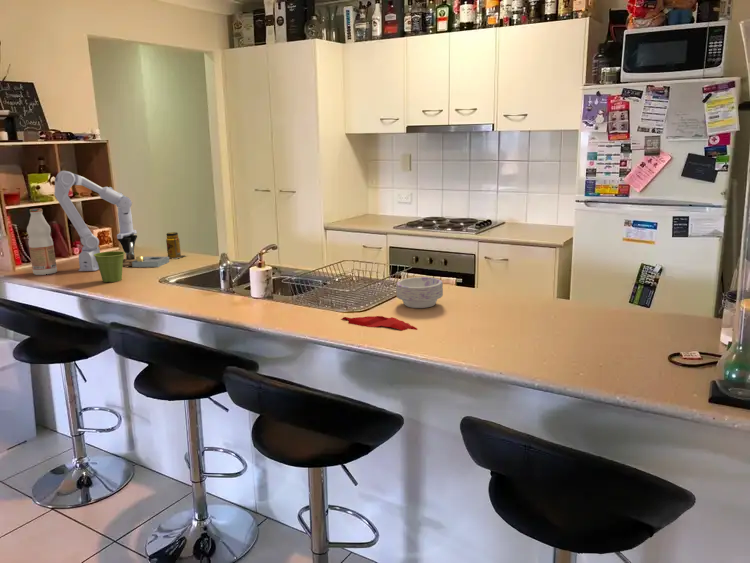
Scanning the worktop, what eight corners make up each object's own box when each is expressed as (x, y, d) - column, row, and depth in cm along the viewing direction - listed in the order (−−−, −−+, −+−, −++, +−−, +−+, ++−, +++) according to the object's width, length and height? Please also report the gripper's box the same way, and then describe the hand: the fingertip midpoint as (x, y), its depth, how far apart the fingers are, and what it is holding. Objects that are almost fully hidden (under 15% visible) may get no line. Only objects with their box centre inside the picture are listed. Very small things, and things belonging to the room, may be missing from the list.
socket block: (158, 267, 281) (157, 261, 281) (132, 267, 282) (132, 261, 282) (169, 261, 293) (168, 256, 292) (144, 261, 294) (144, 256, 294)
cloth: (429, 327, 185) (429, 320, 185) (401, 339, 175) (401, 331, 174) (363, 313, 202) (363, 306, 201) (333, 323, 191) (333, 316, 191)
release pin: (141, 266, 283) (141, 257, 282) (136, 266, 283) (135, 257, 282) (144, 264, 286) (143, 256, 285) (138, 264, 286) (138, 256, 285)
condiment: (164, 258, 302) (161, 233, 299) (175, 255, 310) (172, 231, 307) (176, 259, 300) (174, 234, 297) (187, 255, 307) (185, 231, 305)
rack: (131, 266, 284) (131, 261, 283) (116, 266, 284) (116, 262, 284) (143, 261, 295) (143, 256, 295) (129, 261, 296) (129, 257, 295)
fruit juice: (35, 276, 268) (25, 210, 262) (31, 273, 275) (21, 209, 269) (59, 273, 274) (50, 208, 267) (54, 269, 281) (45, 207, 275)
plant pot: (114, 284, 248) (110, 256, 246) (90, 283, 252) (86, 255, 250) (134, 278, 259) (131, 251, 257) (111, 277, 263) (107, 250, 261)
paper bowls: (387, 305, 208) (386, 282, 206) (417, 296, 218) (417, 274, 216) (421, 313, 197) (421, 289, 195) (452, 304, 207) (452, 280, 206)
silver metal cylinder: (132, 260, 287) (130, 242, 285) (125, 260, 288) (123, 242, 286) (136, 258, 291) (134, 241, 289) (128, 258, 291) (126, 241, 289)
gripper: (126, 224, 278) (129, 254, 281) (141, 220, 292) (144, 249, 295) (111, 224, 279) (114, 254, 282) (127, 220, 293) (130, 249, 296)
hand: (129, 251), depth 288 cm, fingers closed on silver metal cylinder, 3 cm apart
